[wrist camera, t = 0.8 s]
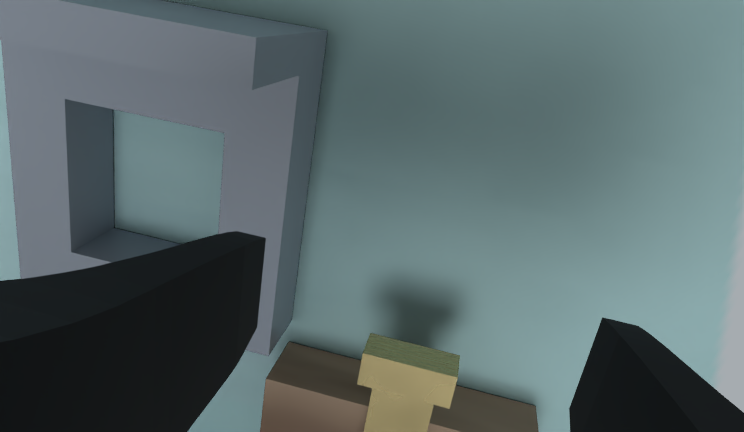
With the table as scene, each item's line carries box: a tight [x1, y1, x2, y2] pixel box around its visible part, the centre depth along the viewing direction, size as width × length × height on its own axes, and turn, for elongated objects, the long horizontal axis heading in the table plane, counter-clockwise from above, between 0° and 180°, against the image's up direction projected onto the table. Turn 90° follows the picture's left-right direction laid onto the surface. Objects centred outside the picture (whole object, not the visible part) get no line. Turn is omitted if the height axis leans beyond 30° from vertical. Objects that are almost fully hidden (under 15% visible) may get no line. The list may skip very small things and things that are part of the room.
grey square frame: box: [0, 0, 327, 356], centre depth 18 cm, size 11×10×6 cm
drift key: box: [357, 333, 460, 432], centre depth 19 cm, size 6×3×1 cm, turn 171°
